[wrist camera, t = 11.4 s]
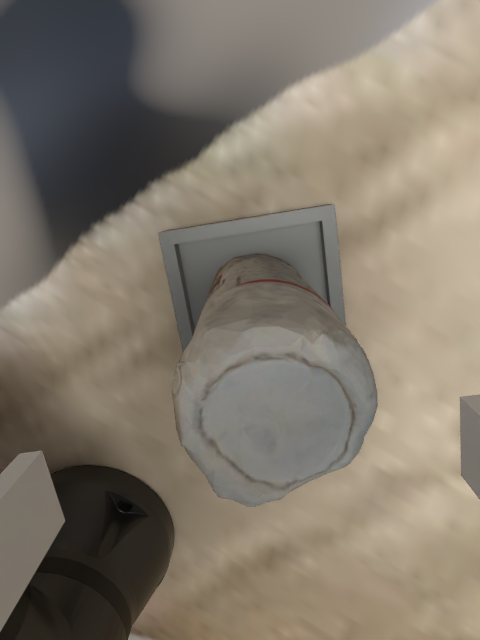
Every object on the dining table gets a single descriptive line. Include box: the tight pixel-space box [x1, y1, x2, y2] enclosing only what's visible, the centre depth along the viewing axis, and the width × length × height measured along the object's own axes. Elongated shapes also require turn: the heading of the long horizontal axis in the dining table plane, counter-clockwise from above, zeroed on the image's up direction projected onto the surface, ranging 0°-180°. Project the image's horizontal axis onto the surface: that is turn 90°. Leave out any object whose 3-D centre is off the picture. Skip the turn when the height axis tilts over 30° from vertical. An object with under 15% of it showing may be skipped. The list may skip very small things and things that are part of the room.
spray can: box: [172, 253, 378, 507], centre depth 23 cm, size 8×8×20 cm
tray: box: [158, 204, 346, 352], centre depth 32 cm, size 13×13×2 cm
